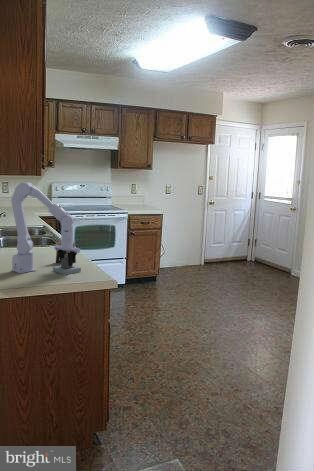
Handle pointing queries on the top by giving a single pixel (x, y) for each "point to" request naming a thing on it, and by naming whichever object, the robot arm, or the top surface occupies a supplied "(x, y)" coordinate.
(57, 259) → the ammunition clip
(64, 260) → the plug
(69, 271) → the socket plate
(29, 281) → the top surface
